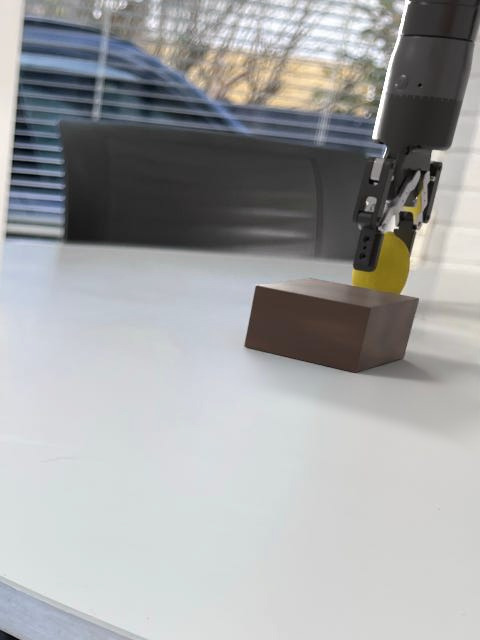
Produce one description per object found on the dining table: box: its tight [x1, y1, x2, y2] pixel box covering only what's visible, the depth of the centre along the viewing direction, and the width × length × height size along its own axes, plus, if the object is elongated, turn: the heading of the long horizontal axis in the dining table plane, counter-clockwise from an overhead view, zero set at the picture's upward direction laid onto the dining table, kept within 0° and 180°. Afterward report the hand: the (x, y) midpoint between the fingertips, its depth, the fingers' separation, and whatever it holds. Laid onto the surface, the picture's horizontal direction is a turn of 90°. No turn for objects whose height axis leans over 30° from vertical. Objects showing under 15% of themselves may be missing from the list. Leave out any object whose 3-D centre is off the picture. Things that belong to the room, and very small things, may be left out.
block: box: [243, 277, 420, 373], centre depth 88 cm, size 10×10×5 cm
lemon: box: [351, 230, 411, 295], centre depth 110 cm, size 6×6×8 cm
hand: (380, 268), depth 110 cm, fingers open, 8 cm apart
